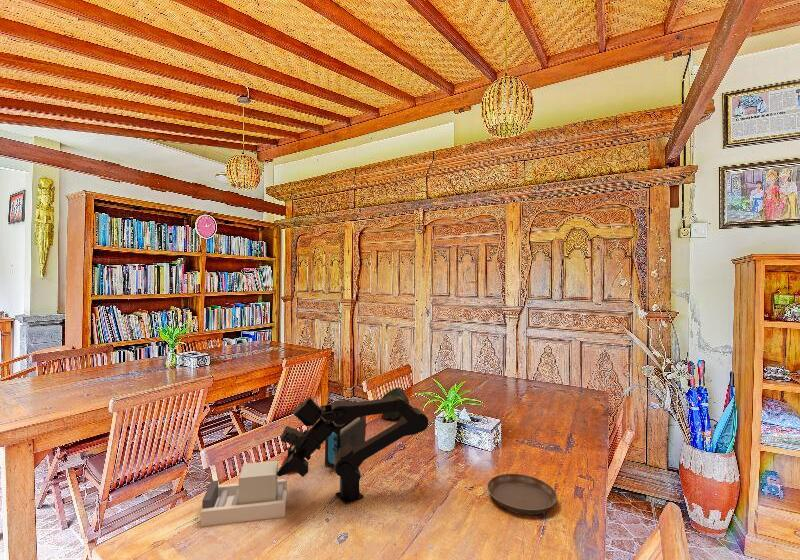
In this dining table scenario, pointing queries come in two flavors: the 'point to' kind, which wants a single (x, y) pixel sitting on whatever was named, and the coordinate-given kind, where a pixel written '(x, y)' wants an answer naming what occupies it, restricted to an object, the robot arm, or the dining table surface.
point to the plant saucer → (522, 493)
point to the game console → (345, 438)
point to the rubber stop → (210, 495)
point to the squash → (394, 393)
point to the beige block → (258, 482)
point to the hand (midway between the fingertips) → (277, 475)
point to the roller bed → (243, 506)
